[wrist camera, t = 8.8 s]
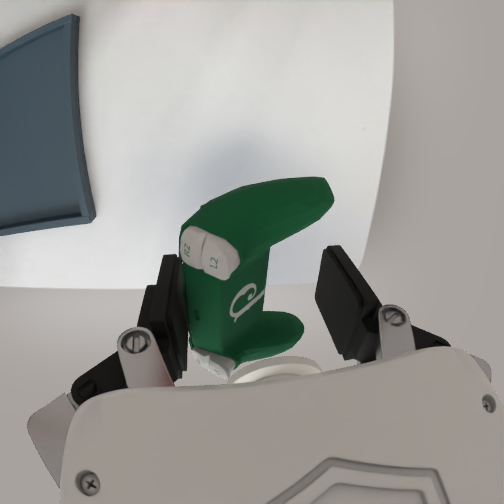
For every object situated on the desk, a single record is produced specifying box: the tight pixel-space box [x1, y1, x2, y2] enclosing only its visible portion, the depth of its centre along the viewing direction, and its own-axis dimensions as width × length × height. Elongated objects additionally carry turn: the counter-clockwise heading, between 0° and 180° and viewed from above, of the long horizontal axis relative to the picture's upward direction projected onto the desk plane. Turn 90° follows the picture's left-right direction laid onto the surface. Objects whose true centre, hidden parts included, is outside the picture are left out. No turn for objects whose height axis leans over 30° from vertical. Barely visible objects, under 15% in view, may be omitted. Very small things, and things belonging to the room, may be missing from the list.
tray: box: [0, 14, 96, 236], centre depth 16 cm, size 20×17×2 cm
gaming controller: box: [179, 177, 334, 380], centre depth 12 cm, size 9×4×6 cm
